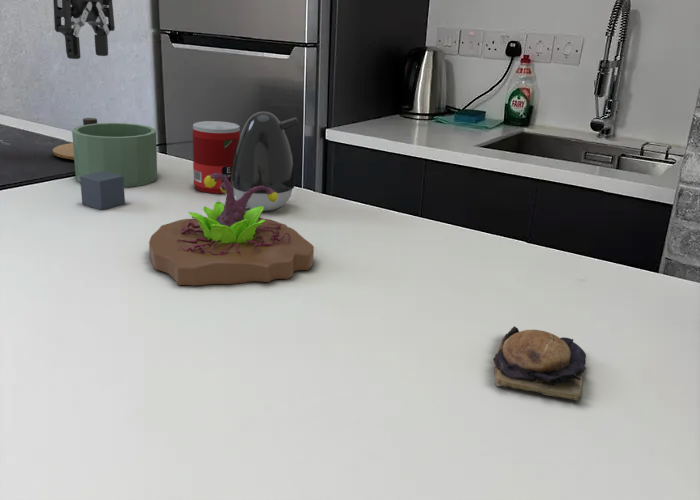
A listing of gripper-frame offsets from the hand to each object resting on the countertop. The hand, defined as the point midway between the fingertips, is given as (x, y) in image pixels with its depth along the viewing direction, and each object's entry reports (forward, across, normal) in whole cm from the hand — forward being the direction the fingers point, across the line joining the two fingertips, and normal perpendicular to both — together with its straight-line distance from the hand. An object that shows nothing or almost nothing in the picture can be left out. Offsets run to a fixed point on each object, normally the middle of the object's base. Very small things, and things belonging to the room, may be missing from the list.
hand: (88, 57), depth 123 cm
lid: (+19, -5, -4) cm, 20 cm away
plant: (+20, +36, +43) cm, 60 cm away
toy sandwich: (+20, +52, +82) cm, 99 cm away
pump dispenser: (+20, +13, +39) cm, 46 cm away
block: (+20, +23, +16) cm, 34 cm away
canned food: (+20, +6, +28) cm, 35 cm away
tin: (+20, +8, +9) cm, 23 cm away
